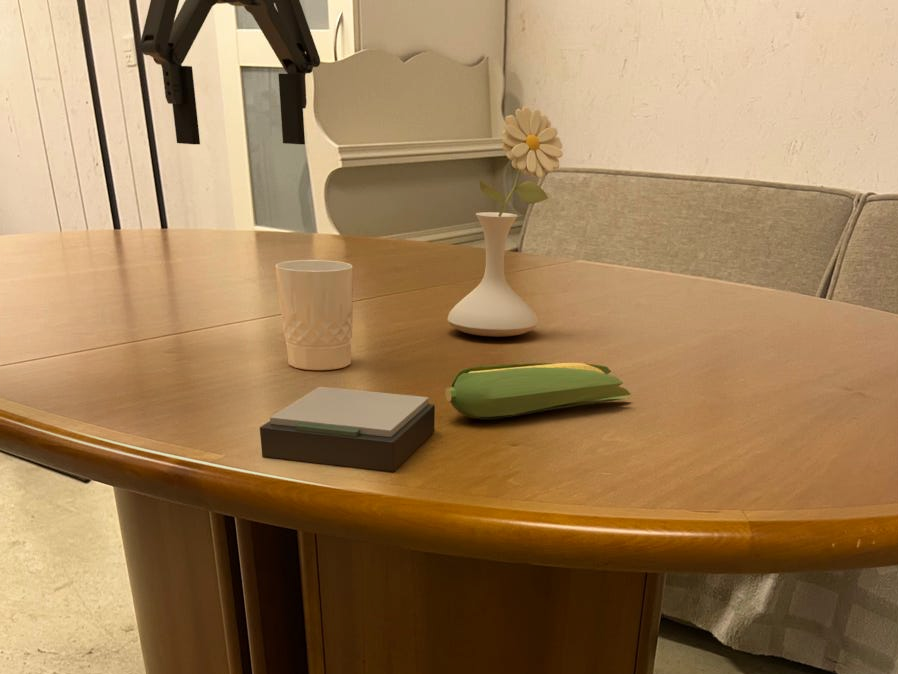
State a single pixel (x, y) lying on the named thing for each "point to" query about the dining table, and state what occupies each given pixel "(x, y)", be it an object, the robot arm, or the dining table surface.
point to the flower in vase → (493, 299)
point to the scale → (349, 428)
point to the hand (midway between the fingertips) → (243, 144)
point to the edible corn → (530, 388)
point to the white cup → (316, 312)
